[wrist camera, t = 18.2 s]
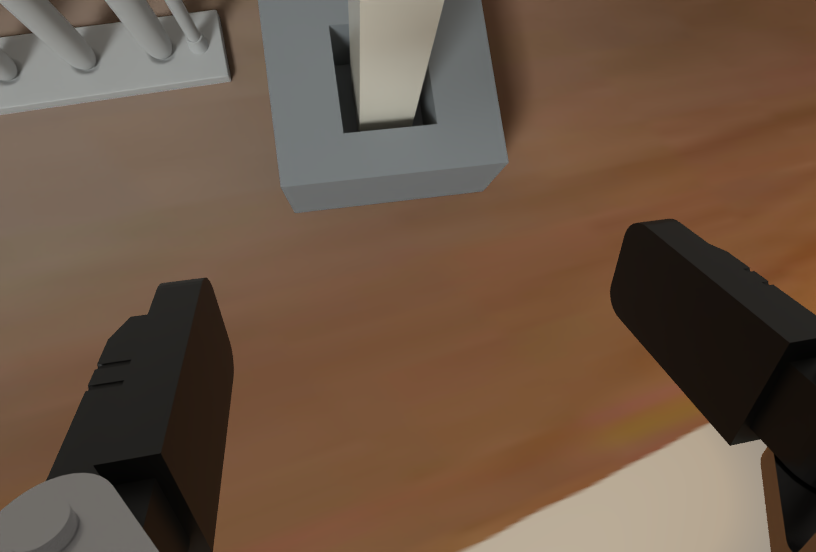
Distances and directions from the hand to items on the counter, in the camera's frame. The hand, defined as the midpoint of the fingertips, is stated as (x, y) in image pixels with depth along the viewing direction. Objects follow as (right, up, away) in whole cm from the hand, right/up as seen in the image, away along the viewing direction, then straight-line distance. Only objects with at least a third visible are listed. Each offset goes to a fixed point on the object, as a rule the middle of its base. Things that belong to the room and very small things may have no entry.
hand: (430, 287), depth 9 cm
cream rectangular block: (-2, +10, +20) cm, 23 cm away
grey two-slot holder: (-3, +15, +22) cm, 27 cm away
